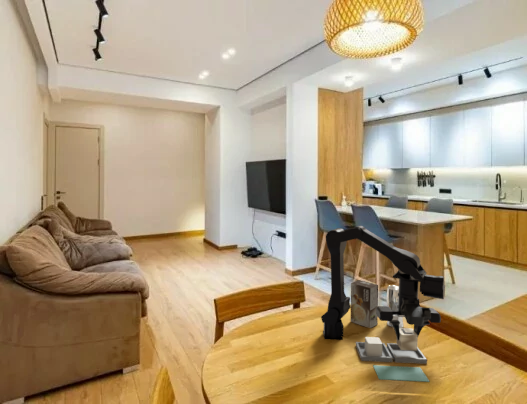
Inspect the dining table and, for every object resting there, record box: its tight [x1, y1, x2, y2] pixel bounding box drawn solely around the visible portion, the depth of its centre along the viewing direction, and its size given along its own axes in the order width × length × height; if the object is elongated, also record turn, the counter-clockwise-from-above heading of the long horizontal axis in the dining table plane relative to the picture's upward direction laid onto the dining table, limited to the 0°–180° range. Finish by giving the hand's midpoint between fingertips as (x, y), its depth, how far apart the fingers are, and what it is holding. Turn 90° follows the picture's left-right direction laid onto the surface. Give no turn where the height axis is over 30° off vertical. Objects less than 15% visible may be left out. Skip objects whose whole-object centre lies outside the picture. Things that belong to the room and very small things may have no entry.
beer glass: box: [386, 284, 404, 328], centre depth 134 cm, size 7×7×15 cm
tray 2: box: [386, 342, 428, 365], centre depth 111 cm, size 10×10×2 cm
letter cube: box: [395, 327, 419, 351], centre depth 111 cm, size 5×5×5 cm
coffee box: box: [350, 279, 379, 329], centre depth 136 cm, size 9×6×16 cm
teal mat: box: [372, 364, 430, 383], centre depth 101 cm, size 14×7×1 cm, turn 85°
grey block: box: [364, 336, 383, 356], centre depth 112 cm, size 4×4×4 cm
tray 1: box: [355, 341, 394, 363], centre depth 112 cm, size 10×10×2 cm
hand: (406, 339), depth 111 cm, fingers closed on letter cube, 5 cm apart
